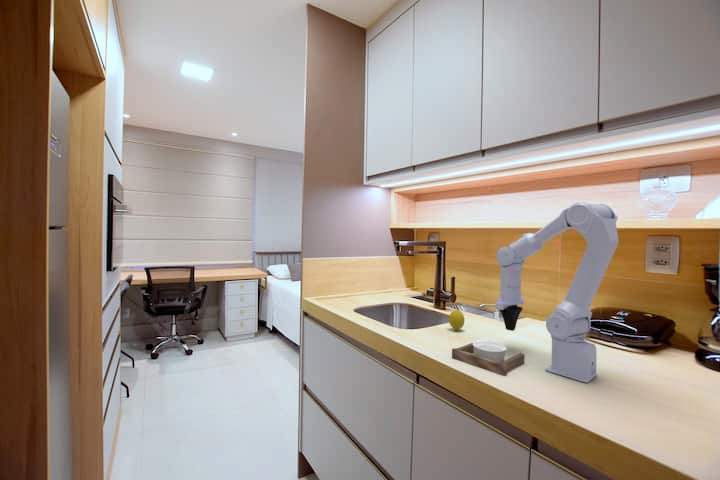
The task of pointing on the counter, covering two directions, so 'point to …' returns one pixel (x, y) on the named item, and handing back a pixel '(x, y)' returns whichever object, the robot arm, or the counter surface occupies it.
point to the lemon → (456, 319)
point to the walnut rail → (487, 360)
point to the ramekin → (490, 350)
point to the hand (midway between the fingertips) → (510, 329)
